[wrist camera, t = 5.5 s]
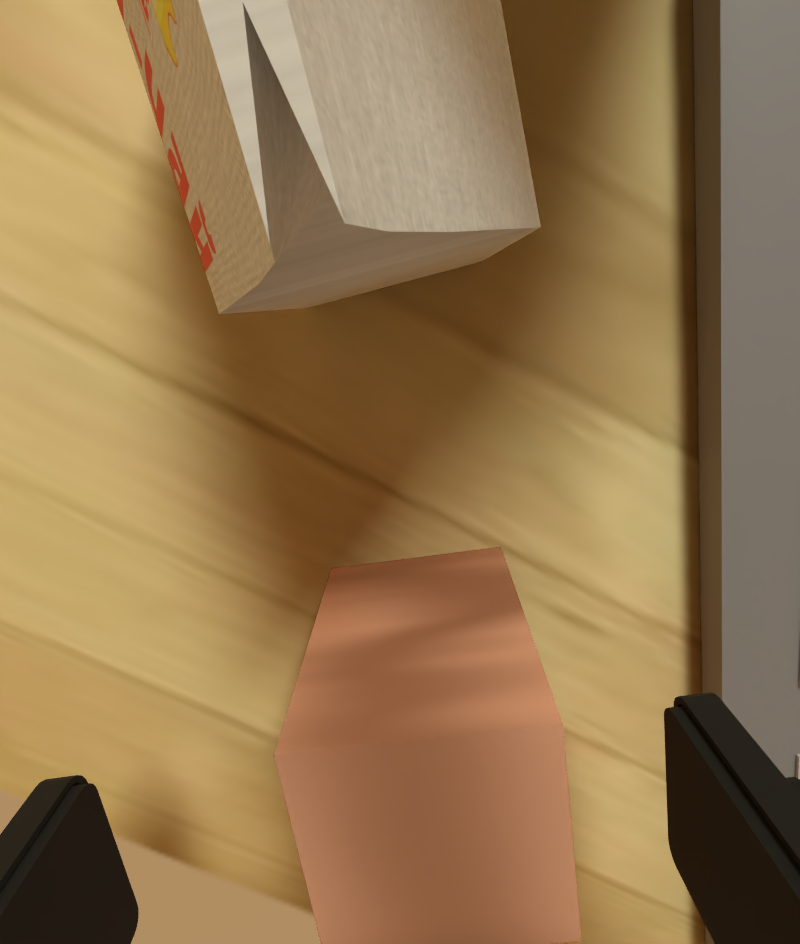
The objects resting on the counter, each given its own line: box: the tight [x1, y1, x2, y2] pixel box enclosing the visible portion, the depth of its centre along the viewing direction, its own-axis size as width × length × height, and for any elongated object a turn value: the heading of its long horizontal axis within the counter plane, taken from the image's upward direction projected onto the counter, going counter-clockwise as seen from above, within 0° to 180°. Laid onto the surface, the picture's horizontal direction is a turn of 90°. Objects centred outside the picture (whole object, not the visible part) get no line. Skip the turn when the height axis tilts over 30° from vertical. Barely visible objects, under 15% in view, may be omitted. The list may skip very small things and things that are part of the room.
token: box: [274, 547, 582, 944], centre depth 12 cm, size 4×4×6 cm
